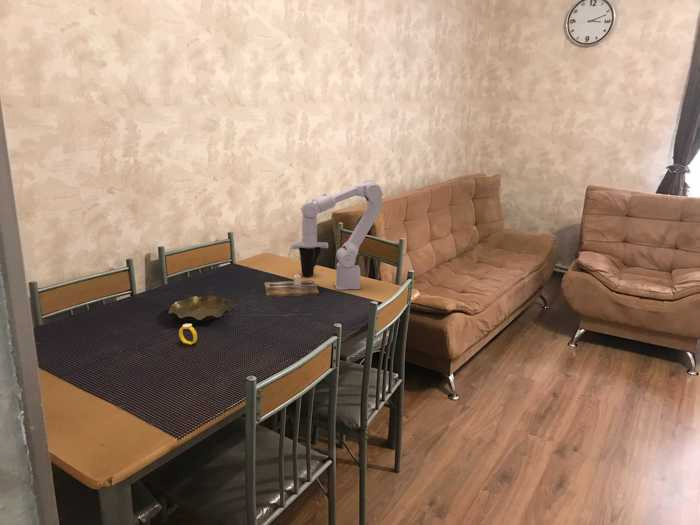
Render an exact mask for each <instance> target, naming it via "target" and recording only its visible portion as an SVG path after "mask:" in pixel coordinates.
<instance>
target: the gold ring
mask: <svg viewBox="0 0 700 525" xmlns="http://www.w3.org/2000/svg"><path fill="white" fill-rule="evenodd" d="M183 330H190V332H191V333H192V338H193V340H192V341H189V340H187V339H186V338H185V336H184V333H183V332H184V331H183ZM178 337H179V338H180V341H181V342H182V343H183V344H187V345H193V344H195V343H196V342H197V340H198V334H197V331H196V329H195V328H194V327H193V324H192V323H184V324H182V326H181V327H180V328H179V331H178Z"/></svg>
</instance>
